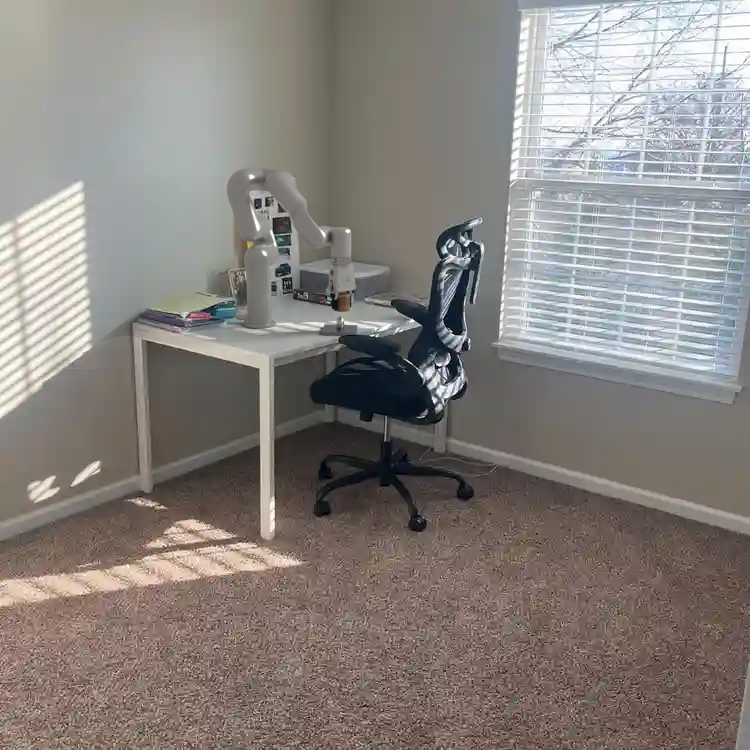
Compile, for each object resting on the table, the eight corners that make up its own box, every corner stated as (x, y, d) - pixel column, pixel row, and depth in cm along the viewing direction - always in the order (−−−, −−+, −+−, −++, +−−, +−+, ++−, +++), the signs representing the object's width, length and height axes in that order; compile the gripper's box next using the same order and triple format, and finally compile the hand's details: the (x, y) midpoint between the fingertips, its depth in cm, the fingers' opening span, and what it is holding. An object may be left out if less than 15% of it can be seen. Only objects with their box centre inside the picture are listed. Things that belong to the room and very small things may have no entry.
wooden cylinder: (341, 312, 310) (341, 295, 308) (330, 310, 314) (330, 293, 312) (352, 310, 314) (352, 293, 312) (342, 307, 318) (342, 291, 316)
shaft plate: (322, 335, 310) (322, 320, 309) (324, 327, 323) (324, 312, 321) (356, 336, 310) (356, 321, 309) (357, 328, 323) (357, 313, 321)
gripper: (330, 264, 300) (331, 312, 306) (364, 259, 312) (364, 306, 317) (317, 262, 306) (318, 309, 311) (351, 257, 317) (351, 303, 322)
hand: (341, 307), depth 314 cm, fingers closed on wooden cylinder, 6 cm apart
